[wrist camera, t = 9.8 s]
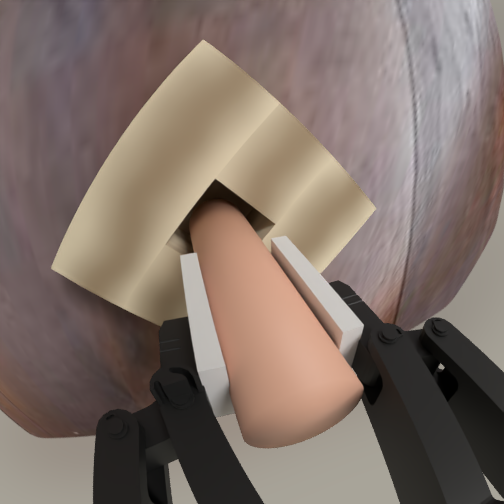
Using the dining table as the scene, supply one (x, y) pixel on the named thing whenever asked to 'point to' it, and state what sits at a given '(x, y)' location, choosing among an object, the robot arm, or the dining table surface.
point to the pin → (268, 336)
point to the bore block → (204, 187)
